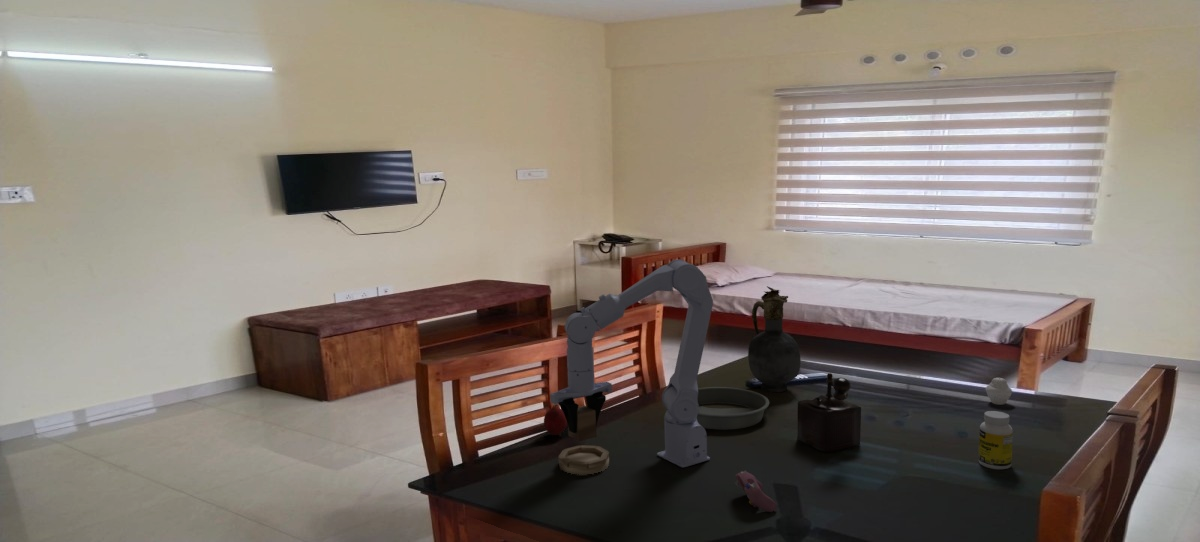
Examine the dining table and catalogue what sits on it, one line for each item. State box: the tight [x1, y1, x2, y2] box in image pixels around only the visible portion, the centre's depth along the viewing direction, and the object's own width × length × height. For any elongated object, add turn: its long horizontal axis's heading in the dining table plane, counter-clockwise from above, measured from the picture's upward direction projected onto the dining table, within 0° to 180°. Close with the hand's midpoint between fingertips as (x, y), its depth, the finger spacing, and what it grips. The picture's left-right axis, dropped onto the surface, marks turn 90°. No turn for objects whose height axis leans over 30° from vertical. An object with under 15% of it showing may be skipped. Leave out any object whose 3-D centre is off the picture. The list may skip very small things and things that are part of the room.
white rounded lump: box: [985, 377, 1013, 406], centre depth 196 cm, size 6×6×7 cm
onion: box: [543, 404, 568, 437], centre depth 182 cm, size 6×6×8 cm
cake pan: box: [697, 386, 770, 430], centre depth 193 cm, size 25×25×4 cm
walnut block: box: [567, 405, 597, 442], centre depth 162 cm, size 4×4×6 cm
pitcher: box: [747, 286, 802, 393], centre depth 215 cm, size 11×19×30 cm, turn 19°
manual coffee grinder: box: [796, 372, 862, 453], centre depth 169 cm, size 16×11×18 cm
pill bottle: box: [978, 410, 1014, 471], centre depth 156 cm, size 6×6×11 cm
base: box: [557, 444, 610, 476], centre depth 163 cm, size 11×11×2 cm
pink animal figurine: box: [735, 470, 778, 513], centre depth 142 cm, size 10×5×7 cm, turn 5°
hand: (582, 429), depth 162 cm, fingers closed on walnut block, 4 cm apart
